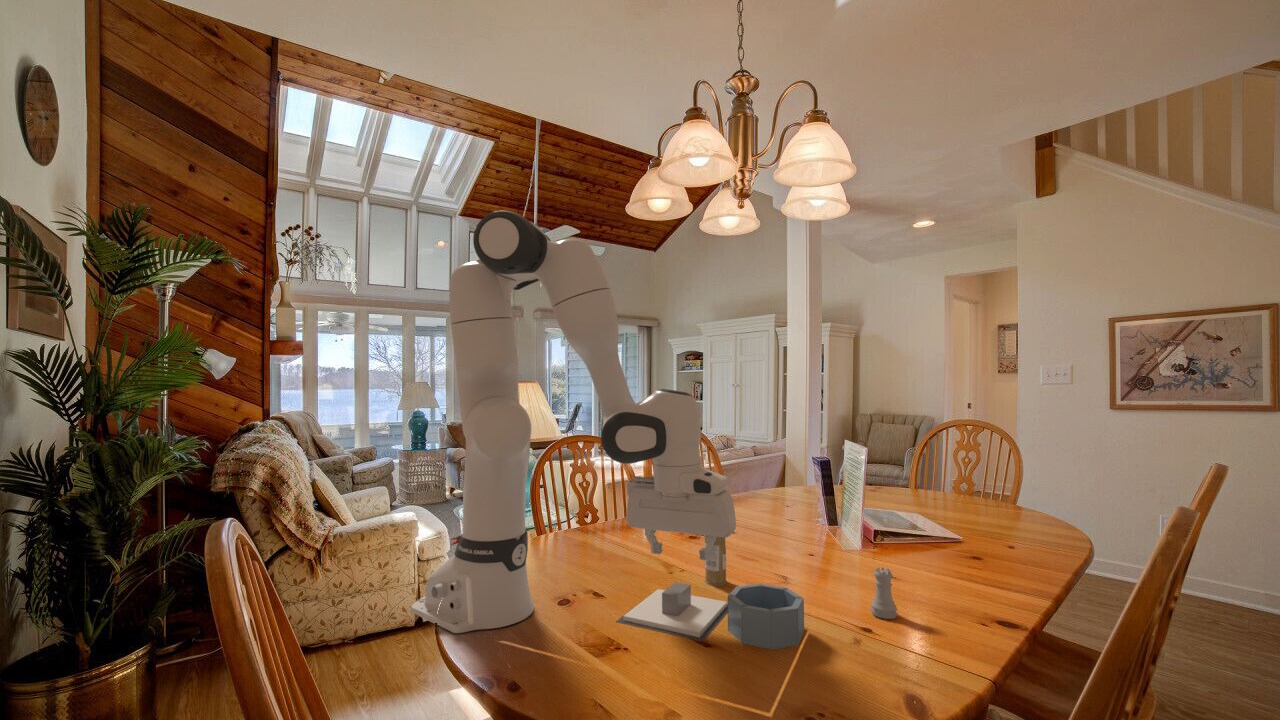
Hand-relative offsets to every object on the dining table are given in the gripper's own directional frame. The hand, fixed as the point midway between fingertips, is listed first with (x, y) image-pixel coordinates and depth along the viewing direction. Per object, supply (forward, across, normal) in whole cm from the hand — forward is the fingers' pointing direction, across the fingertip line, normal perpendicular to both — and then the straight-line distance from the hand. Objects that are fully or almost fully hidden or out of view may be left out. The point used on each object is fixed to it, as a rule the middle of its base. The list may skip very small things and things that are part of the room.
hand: (680, 556), depth 98 cm
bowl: (+11, +15, 0) cm, 19 cm away
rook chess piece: (+12, +32, +17) cm, 38 cm away
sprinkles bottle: (+11, 0, +17) cm, 21 cm away
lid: (+10, -1, 0) cm, 10 cm away
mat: (+10, -1, -1) cm, 10 cm away
